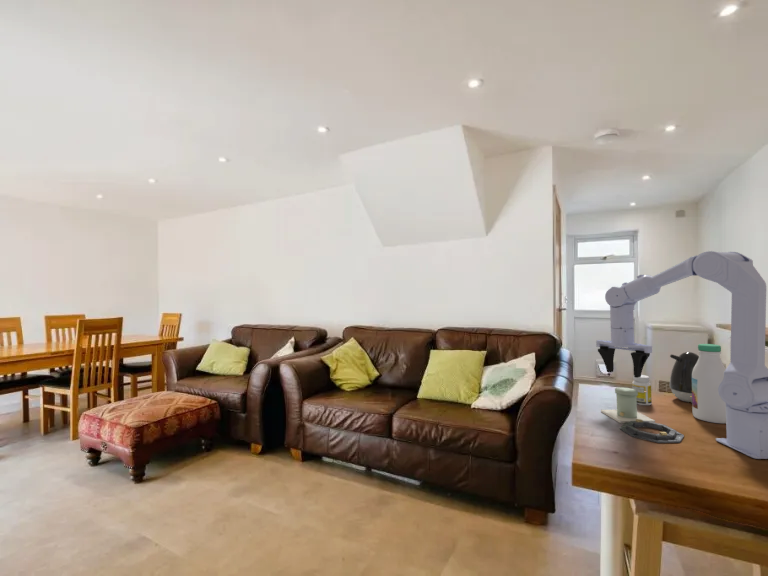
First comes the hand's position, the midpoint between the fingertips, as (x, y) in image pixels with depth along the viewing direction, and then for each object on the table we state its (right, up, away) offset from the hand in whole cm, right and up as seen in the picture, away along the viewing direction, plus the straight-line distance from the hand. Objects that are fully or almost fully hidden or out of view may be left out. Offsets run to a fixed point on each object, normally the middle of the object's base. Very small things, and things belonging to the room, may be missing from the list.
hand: (623, 374), depth 106 cm
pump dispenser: (+26, -10, +7) cm, 28 cm away
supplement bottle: (+9, -11, +6) cm, 15 cm away
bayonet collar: (-4, -10, -17) cm, 20 cm away
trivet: (-3, -10, -6) cm, 12 cm away
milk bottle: (+18, -10, -9) cm, 22 cm away
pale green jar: (-3, -10, -6) cm, 12 cm away
